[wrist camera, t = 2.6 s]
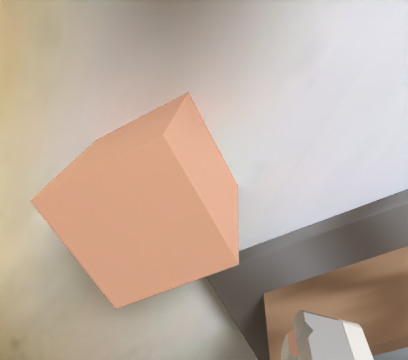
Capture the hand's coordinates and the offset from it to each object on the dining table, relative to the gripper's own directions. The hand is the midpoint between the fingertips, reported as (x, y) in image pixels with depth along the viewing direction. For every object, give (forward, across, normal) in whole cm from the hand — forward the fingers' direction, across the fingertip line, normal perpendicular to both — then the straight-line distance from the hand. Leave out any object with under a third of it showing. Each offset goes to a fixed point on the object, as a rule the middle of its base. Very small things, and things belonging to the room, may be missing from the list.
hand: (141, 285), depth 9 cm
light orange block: (+8, +1, 0) cm, 8 cm away
